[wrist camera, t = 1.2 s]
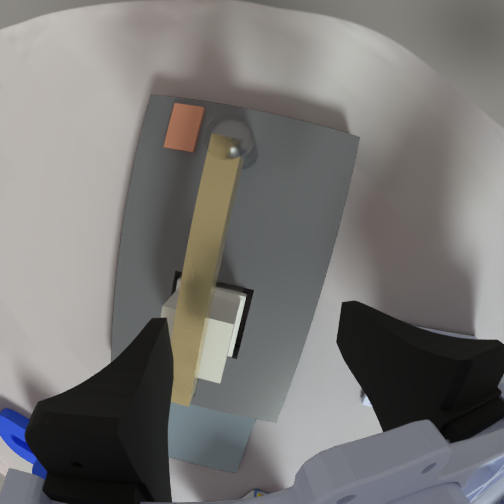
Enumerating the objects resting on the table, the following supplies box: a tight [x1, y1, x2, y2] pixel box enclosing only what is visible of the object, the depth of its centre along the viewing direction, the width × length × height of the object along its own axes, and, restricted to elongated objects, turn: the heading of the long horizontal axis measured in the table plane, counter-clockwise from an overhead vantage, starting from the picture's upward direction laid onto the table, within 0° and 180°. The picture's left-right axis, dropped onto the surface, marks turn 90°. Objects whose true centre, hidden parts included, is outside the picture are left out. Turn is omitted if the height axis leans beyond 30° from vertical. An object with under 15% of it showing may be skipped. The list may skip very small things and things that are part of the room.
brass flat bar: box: [171, 114, 258, 407], centre depth 17 cm, size 2×14×6 cm, turn 167°
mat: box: [168, 402, 255, 473], centre depth 26 cm, size 9×9×1 cm
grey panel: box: [111, 95, 360, 423], centre depth 22 cm, size 14×22×2 cm, turn 167°
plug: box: [161, 278, 247, 397], centre depth 20 cm, size 5×7×6 cm
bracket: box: [0, 408, 47, 480], centre depth 25 cm, size 18×8×9 cm, turn 79°
